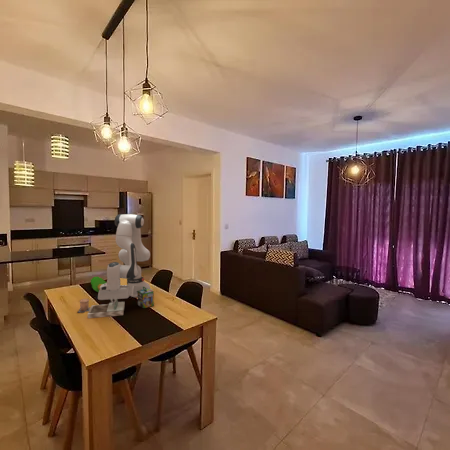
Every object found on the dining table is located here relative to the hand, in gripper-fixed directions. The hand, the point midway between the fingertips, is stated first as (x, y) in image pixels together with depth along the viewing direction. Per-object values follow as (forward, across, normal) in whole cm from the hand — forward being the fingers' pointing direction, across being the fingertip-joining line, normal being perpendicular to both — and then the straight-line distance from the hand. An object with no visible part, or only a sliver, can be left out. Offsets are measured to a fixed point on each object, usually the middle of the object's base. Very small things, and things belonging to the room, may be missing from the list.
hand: (113, 304), depth 188 cm
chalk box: (+6, -22, -8) cm, 24 cm away
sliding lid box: (+6, +4, 0) cm, 7 cm away
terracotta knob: (+5, +20, -7) cm, 22 cm away
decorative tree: (+6, +19, -54) cm, 58 cm away
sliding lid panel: (+2, -1, 0) cm, 2 cm away
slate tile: (+6, +20, -7) cm, 23 cm away
